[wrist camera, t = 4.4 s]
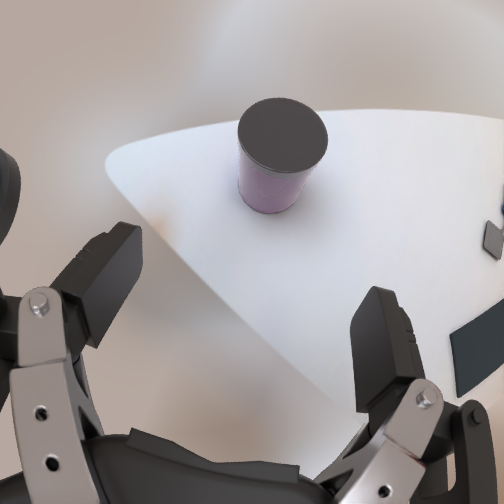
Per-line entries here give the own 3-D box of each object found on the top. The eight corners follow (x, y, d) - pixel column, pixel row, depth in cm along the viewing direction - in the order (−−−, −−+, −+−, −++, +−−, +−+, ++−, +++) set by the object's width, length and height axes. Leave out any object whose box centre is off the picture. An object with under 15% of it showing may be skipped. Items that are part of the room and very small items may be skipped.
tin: (247, 222, 22) (252, 182, 15) (229, 164, 23) (227, 106, 15) (308, 206, 23) (341, 162, 15) (288, 151, 24) (309, 92, 16)
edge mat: (456, 397, 21) (459, 398, 21) (449, 334, 22) (452, 334, 22) (516, 349, 22) (518, 349, 22) (510, 293, 23) (512, 293, 22)
